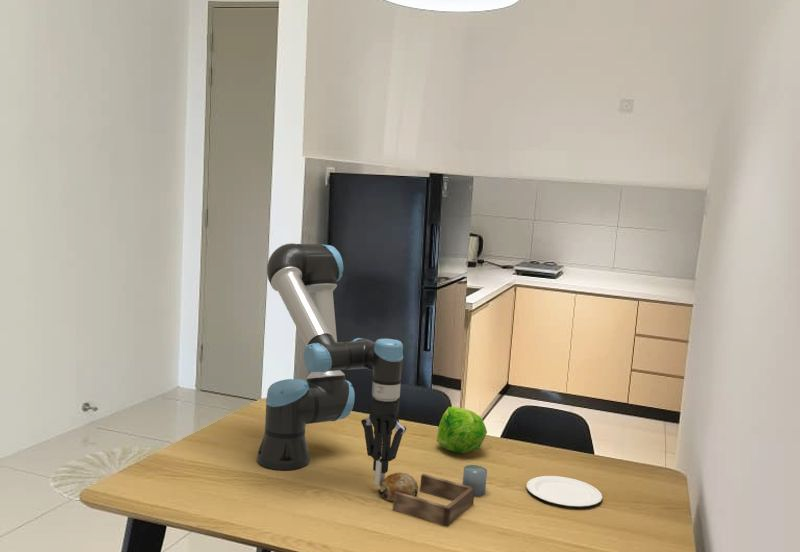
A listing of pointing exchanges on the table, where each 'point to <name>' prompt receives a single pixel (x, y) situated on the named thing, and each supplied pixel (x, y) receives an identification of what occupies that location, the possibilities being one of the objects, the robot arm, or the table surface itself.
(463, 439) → the lettuce
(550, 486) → the plate
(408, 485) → the bread roll
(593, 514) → the table surface
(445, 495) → the corral
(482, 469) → the grey-blue cylinder
